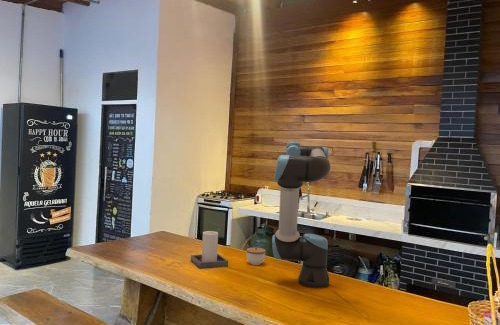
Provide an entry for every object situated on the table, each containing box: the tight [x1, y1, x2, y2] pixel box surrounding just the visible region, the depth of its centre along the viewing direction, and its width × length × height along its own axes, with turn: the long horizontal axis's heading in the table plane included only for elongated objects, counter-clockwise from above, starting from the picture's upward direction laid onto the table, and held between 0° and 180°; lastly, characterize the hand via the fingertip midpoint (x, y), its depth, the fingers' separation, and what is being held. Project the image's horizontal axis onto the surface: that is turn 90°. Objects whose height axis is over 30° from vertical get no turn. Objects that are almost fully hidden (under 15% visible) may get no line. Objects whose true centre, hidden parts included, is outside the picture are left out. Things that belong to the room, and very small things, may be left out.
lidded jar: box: [245, 246, 266, 266], centre depth 237 cm, size 11×11×9 cm
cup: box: [201, 230, 219, 262], centre depth 232 cm, size 8×8×16 cm
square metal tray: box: [190, 253, 229, 270], centre depth 232 cm, size 16×16×3 cm
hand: (290, 207), depth 240 cm, fingers open, 13 cm apart
